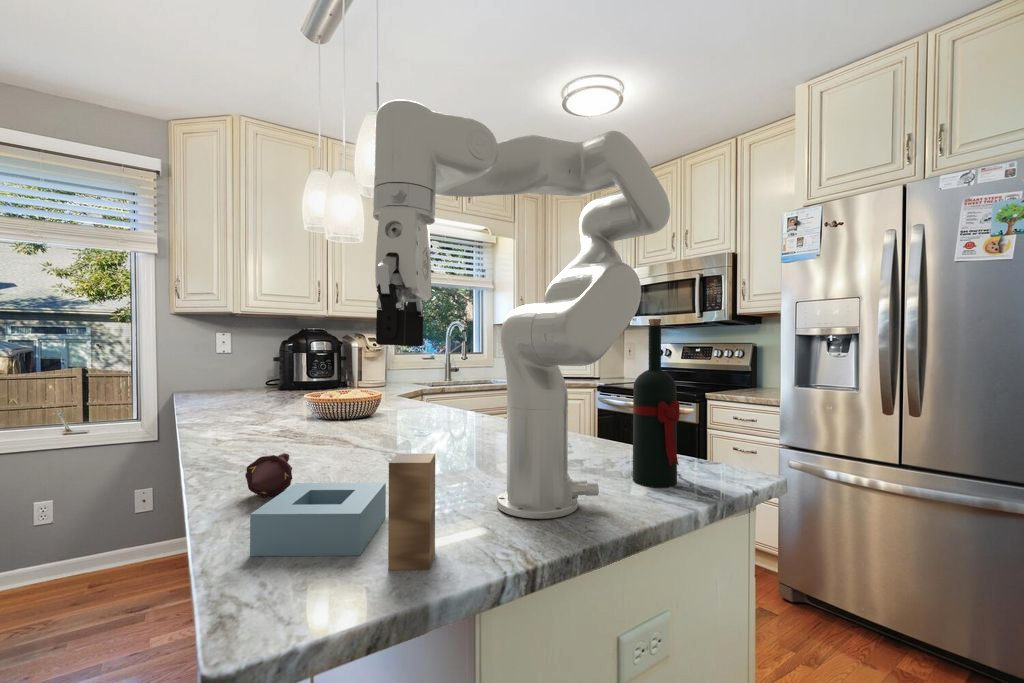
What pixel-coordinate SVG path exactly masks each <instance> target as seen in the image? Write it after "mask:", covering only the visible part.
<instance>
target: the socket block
mask: <svg viewBox="0 0 1024 683" xmlns="http://www.w3.org/2000/svg"><path fill="white" fill-rule="evenodd" d="M386 485H387V483H386V482H296V483H294V484H292V485H290V486H289V487H288V488H286V489H285V490H284V492H282V493H281V494H279V495H278V496H276V497H274V498H273V497H272V499H271V500H269V501H267V502H266V503H264V504H263V505H261V506H260V507H259V508H257V509H255V510H254V511H253V512H251V513H250V516H249V557H313V556H314V557H316V556H317V557H318V556H319V557H321V556H322V557H323V556H326V557H329V556H330V557H331V556H335V557H337V556H338V557H340V556H343V557H345V556H347V557H348V556H361V555H362V553H363V552H364V550H365V549H366V547H367V546H368V544H369V543H370V541H371V540H372V538H373V536H374V535H375V533H377V531H378V529H379V528H380V526H381V525H382V523H383V522H384V521H385V518H386V516H387V513H386V511H387V509H386V508H387V507H386V506H387V505H386V503H387V502H386V501H387V500H386V498H387V494H386V492H387V491H386V488H387V486H386Z"/></svg>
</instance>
